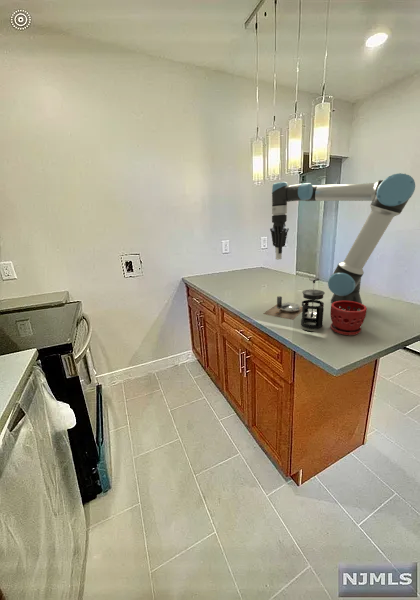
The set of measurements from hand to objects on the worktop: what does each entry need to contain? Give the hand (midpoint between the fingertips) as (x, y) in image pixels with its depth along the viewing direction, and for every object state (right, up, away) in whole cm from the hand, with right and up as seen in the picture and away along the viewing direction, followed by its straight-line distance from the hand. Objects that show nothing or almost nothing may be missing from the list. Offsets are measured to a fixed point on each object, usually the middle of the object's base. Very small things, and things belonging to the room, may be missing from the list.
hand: (278, 259), depth 138 cm
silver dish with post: (+3, -28, -7) cm, 29 cm away
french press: (+8, -36, -26) cm, 45 cm away
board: (+1, -30, -7) cm, 31 cm away
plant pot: (+21, -36, -31) cm, 52 cm away
